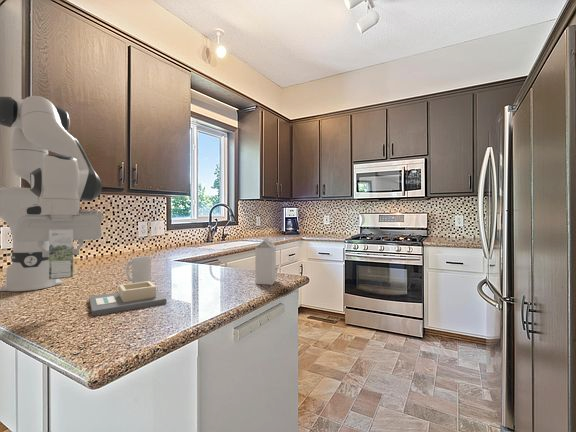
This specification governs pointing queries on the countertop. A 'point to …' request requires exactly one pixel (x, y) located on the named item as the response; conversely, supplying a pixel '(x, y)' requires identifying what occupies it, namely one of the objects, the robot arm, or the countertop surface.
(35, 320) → the countertop surface
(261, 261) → the milk carton
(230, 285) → the countertop surface
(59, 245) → the syrup box
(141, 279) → the mug
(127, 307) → the holder board
